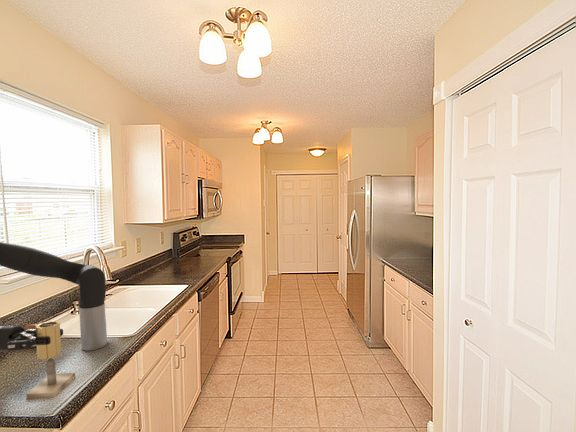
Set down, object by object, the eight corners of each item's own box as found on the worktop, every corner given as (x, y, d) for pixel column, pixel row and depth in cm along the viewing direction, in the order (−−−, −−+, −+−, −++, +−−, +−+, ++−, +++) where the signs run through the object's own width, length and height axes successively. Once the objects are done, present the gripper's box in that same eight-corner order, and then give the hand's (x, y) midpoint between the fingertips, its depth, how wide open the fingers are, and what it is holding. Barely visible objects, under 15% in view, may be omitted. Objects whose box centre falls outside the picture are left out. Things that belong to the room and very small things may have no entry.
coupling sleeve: (45, 351, 114) (44, 321, 113) (64, 350, 114) (63, 320, 113) (33, 359, 108) (31, 328, 107) (53, 358, 108) (51, 327, 108)
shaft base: (51, 378, 117) (49, 351, 117) (75, 376, 118) (73, 349, 117) (26, 398, 106) (24, 368, 105) (53, 397, 106) (51, 367, 105)
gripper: (-18, 335, 102) (40, 333, 103) (17, 318, 117) (68, 317, 118) (-16, 360, 103) (42, 358, 104) (19, 340, 117) (70, 338, 118)
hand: (56, 336), depth 111 cm, fingers closed on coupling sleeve, 6 cm apart
